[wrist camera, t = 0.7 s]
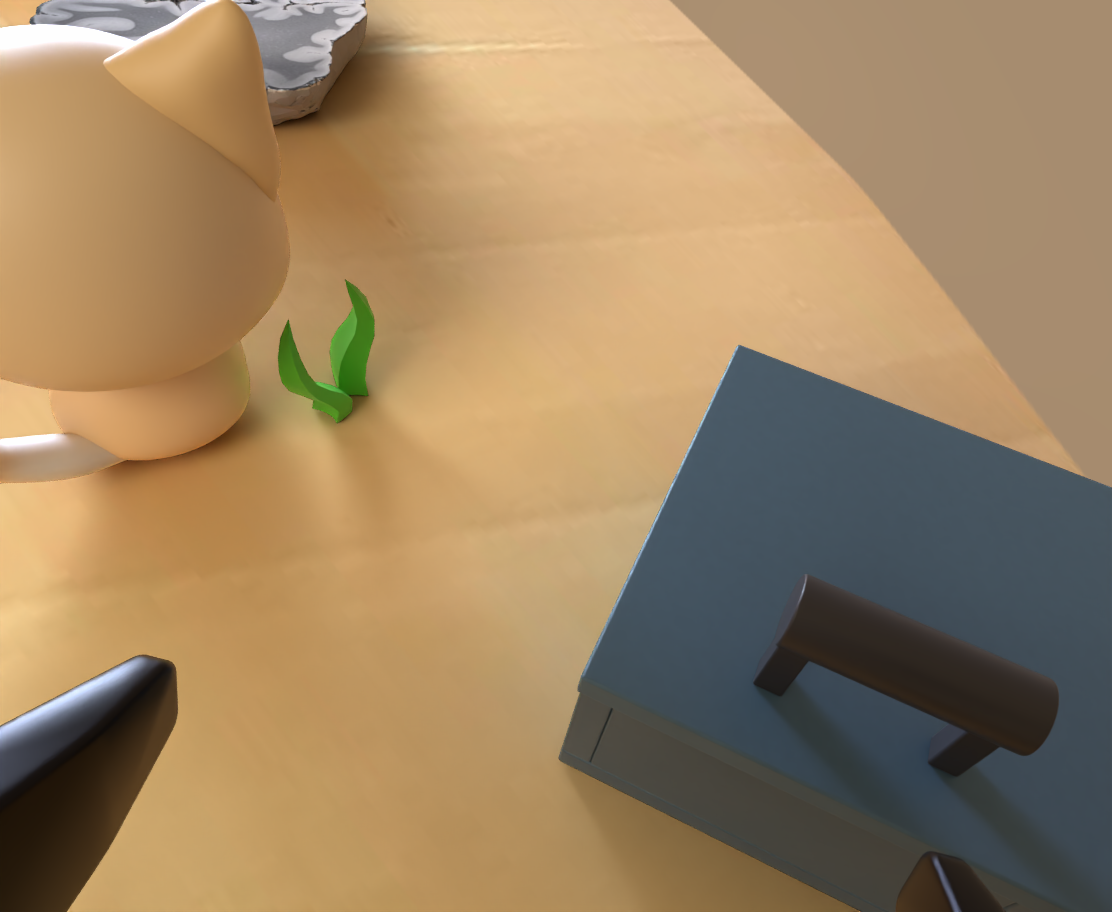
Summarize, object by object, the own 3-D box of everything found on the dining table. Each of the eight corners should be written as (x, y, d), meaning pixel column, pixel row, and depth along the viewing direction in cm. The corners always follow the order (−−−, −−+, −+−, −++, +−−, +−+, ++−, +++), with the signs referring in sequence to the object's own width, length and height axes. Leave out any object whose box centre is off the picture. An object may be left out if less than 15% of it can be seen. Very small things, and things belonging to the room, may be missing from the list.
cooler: (955, 960, 23) (1100, 907, 18) (557, 760, 25) (588, 664, 20) (994, 613, 30) (1105, 507, 25) (684, 483, 32) (730, 362, 27)
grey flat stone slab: (80, -24, 52) (64, -78, 50) (360, -14, 56) (357, -63, 54) (20, 150, 40) (-4, 90, 38) (381, 149, 44) (378, 94, 42)
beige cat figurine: (356, 298, 36) (321, -95, 25) (404, 476, 31) (388, 72, 19) (-39, 345, 32) (-300, -102, 21) (-69, 562, 26) (-454, 110, 15)
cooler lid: (1101, 945, 17) (1266, 896, 14) (575, 692, 19) (606, 595, 16) (1106, 507, 25) (1212, 406, 22) (731, 361, 27) (774, 249, 24)
